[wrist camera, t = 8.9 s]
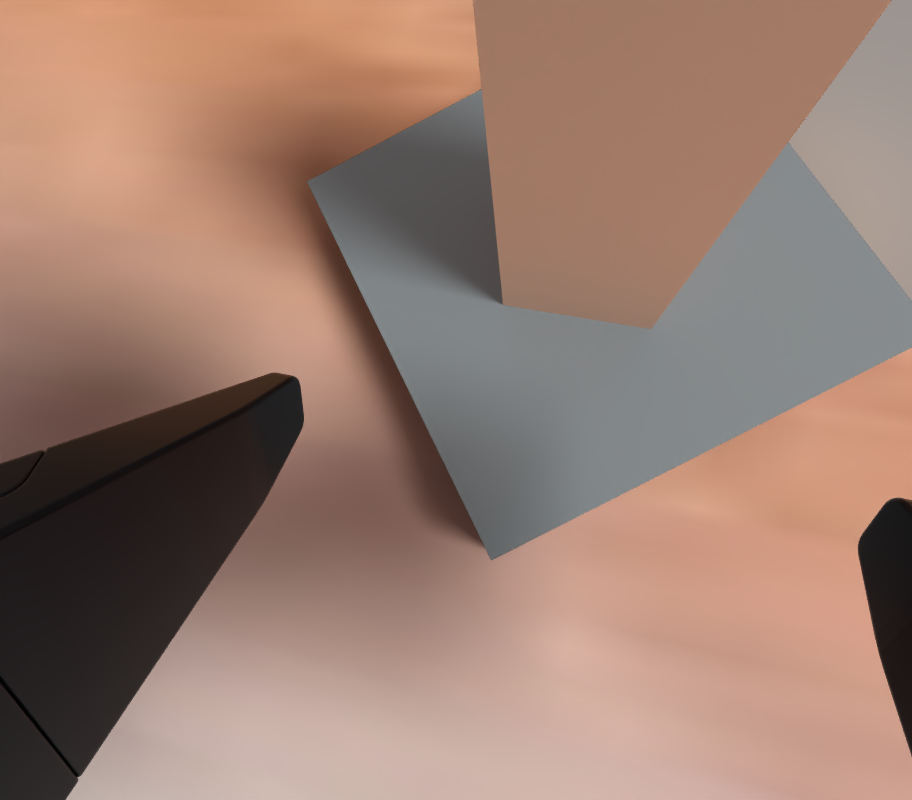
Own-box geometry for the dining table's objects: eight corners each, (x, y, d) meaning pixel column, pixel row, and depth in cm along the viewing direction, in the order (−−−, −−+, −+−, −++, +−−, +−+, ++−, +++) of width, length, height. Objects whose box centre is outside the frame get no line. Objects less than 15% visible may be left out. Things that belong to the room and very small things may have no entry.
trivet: (495, 552, 17) (491, 560, 15) (332, 219, 21) (306, 181, 18) (878, 358, 17) (938, 334, 15) (651, 51, 20) (669, -11, 18)
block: (651, 329, 16) (1200, -421, 3) (502, 305, 16) (436, -379, 4) (673, 194, 16) (1188, -871, 4) (530, 176, 17) (554, -761, 4)
